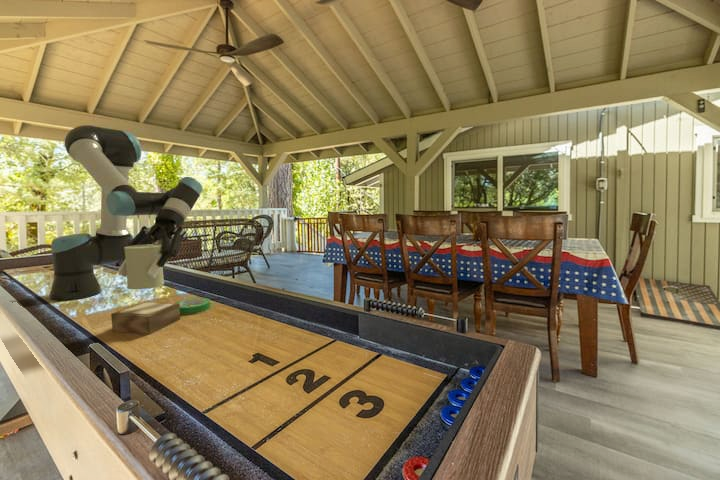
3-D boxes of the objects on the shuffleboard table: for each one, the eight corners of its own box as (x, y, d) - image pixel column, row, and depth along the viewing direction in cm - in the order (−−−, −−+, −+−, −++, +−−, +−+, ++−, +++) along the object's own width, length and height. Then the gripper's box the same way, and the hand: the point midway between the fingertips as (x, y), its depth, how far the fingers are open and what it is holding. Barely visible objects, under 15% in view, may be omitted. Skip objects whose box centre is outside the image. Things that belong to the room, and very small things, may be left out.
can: (146, 290, 93) (143, 247, 92) (118, 288, 95) (115, 246, 94) (171, 282, 102) (169, 242, 101) (145, 281, 104) (142, 242, 103)
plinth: (112, 331, 95) (111, 313, 94) (146, 316, 107) (145, 300, 106) (150, 334, 93) (148, 315, 92) (180, 319, 105) (179, 303, 104)
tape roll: (192, 316, 108) (191, 308, 108) (166, 312, 112) (165, 305, 112) (217, 306, 118) (217, 299, 118) (193, 303, 122) (193, 296, 122)
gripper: (208, 223, 110) (177, 283, 96) (150, 223, 113) (112, 280, 100) (197, 207, 104) (162, 268, 90) (136, 207, 108) (93, 266, 94)
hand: (136, 274), depth 95 cm, fingers closed on can, 9 cm apart
